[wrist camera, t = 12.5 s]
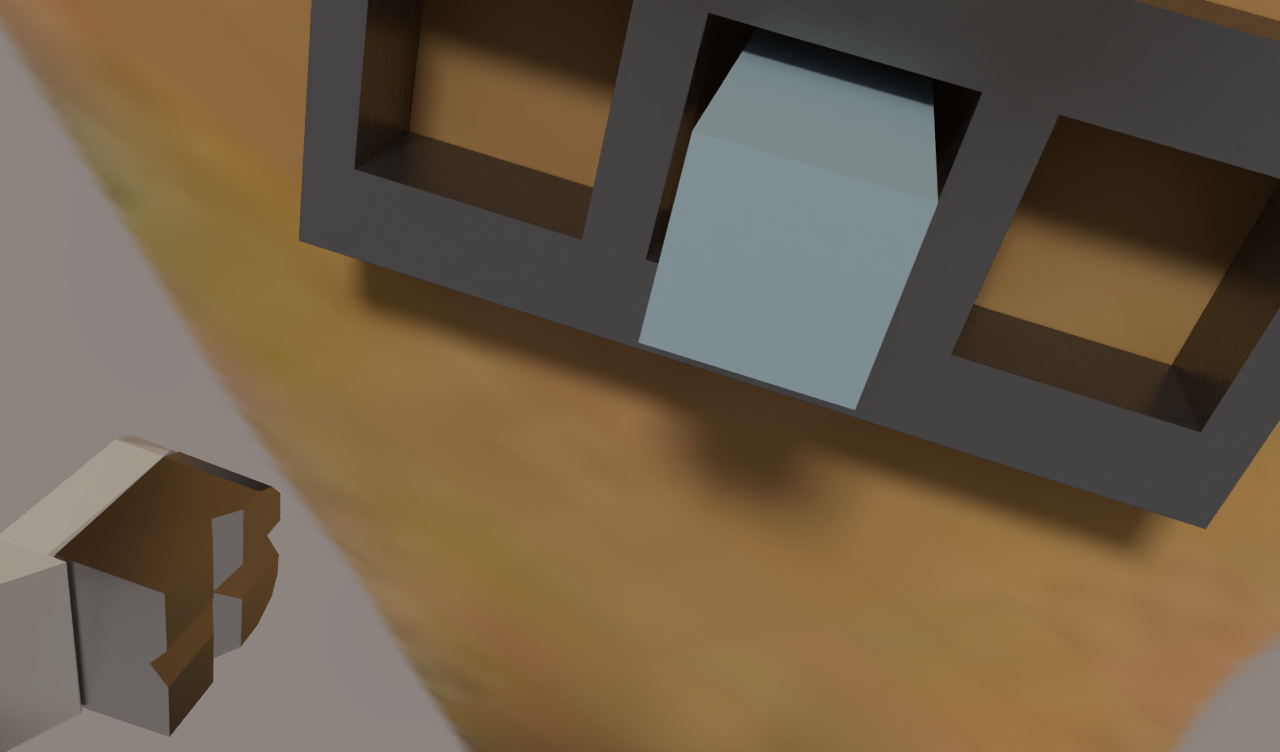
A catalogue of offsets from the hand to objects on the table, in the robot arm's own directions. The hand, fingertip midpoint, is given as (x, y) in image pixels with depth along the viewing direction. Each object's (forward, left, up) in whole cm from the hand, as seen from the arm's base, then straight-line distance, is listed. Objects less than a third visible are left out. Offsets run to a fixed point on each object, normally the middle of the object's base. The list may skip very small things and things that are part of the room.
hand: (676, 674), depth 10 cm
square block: (0, 0, -17) cm, 17 cm away
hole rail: (0, 0, -17) cm, 17 cm away
